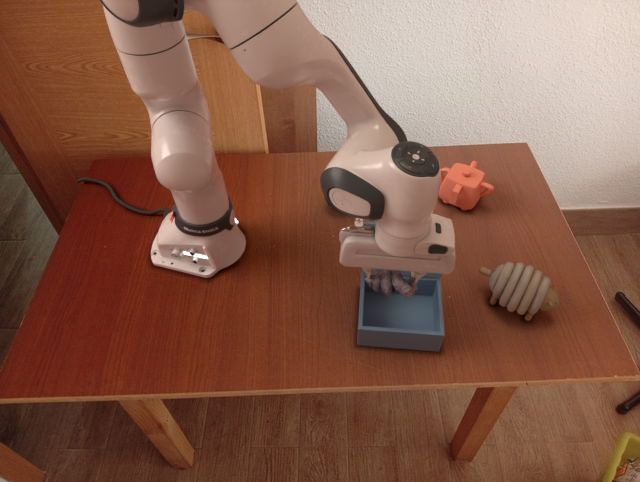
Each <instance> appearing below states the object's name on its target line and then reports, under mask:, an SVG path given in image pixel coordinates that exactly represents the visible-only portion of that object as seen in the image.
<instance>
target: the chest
mask: <svg viewBox="0 0 640 482" xmlns="http://www.w3.org/2000/svg"><path fill="white" fill-rule="evenodd" d="M402 276H403V278H404V280H405V281H406V282H408V281H409V276H407V275H402ZM366 277H367V274H366V273H362V272H361V273H360V285H359V303H358V305H359V306H358V307H359V308H358V321H357V339H356V340H357V341H356V345H357V346H361V347H362V346H363V347H374V348H375V347H376V348H388V349H400V350H411V351H412V350H414V351H425V352H436V353H437V352H440V350H441V346H442V344H443V341H444V338H445V335H446V334H445V333H446V332H445V321H444V320H445V319H444V307H443V290H442V277H441V278H437V277H421V278H419V279H418V283H416V285H417V292H416V293H415V294H414V295H413V296H411V297H409V298H406V297H404V296H403V295H402V294H401V293H399V292H398V291H396V289H395V293H394V294H393V295H391V296H386V295H384V294H383V293H382V292H376V291H374V289H373V287H372V288H371V287H370V286H369V284H368V283H367V282H366V281H365V278H366Z"/></svg>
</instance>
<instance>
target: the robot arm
mask: <svg viewBox="0 0 640 482" xmlns="http://www.w3.org/2000/svg"><path fill="white" fill-rule="evenodd" d="M99 1H100V3H101V5H102V8H103V12H104V16H105V20H106V23H107V27H108V30H109V33H110V36H111V39H112V42H113V44H114V47H115V50H116V52H117V54H118V58H119V60H120V62H121V65H122V67H123V70H124V72H125V73H124V74H125V75H126V78H127V80H128V84H129V85H130V88H131V90H132V92H133V93H134V94H136V95H137V96H138V97H140V99H141V101H142V102H143V104H144V106H145V108H146V110H147V113H148V116H149V122H150V135H151V137H150V140H151V141H150V158H151V162H152V163H151V164H152V166H153V170H154V173H155V177H156V179H157V181H158V182H159V184H160V185H162V186H163V187H164V188H166V189H167V190H169V191H170V193H171V195H172V198H173V201H174V203H173V205H172V206H171V209H170V208H158V209H155V210H143V209H140V208H137V207H134V206H131V205H130V204H128V203H126V202H124V201H123V200H121V199H120V198H119V197H118V195H117V194H116V192H115V190H114V188H113V187H112V186H111V185H110V184H108V183H107V182H105V181H103V180H100V179H98V178H93V177H80V178H78V179H77V180H76V183H77V184H79V183H81V182H92V183H96V184H99V185H102V186H104V187H106V188H107V189H108V190H109V192H110V193H111V195H112V198H113V199H114V200H115V201H116V202H117V203H118V204H120V205H121V206H122V207H124V208H126V209H128V210H129V211H132V212H134V213H138V214H142V215H149V216H150V215H151V216H153V215H156V214H159V213H163V217H162V222H161V223H160V226H159V229H158V232H157V233H156V235H155V237H154V239H153V241H152V244H151V248H150V258H151V259H150V260H151V262H152V265H154V266H156V267H160V268H164V269H168V270H172V271H175V272H180V273H184V274H188V275H191V276H196V277H200V278H204V279H210V278H212V277H213V276H215V275H216V274H217V273H218V272H219V271H221V270H223V269H225V268H228V267H229V266H231V265H233V264H234V263H236V262H238V260H239V259H240V258H242V255H243V254H244V252H245V251H246V248H247V247H246V246H247V240H246V236H245V234H244V233H243V231H242V230H241V229H240V227H239V225H238V224H239V220H237V218H236V214H235V210H234V206H233V203H232V200H231V198H230V196H229V195H228V191H227V186H226V183H225V179H224V176H223V172H222V171H221V169H220V167H219V164H218V160H217V157H216V152H215V145H214V137H213V129H212V121H211V111H210V108H209V105H208V102H207V99H206V95H205V93H204V90H203V87H202V85H201V82H200V80H199V77H198V74H197V70H196V66H195V63H194V58H193V55H192V51H191V47H190V44H189V40H188V35H187V31H186V29H185V25H184V22H183V18H184V14H185V10H191V11H195V12H198V13H199V14H202V15H203V16H204V17H205V18H206V19H207V20H208V21H209V23H210V24H211V25H212V26H213V28H214V29H215V30H216V32H217V34H218V35H219V38H220V39H221V41H222V42H223V44H224V46H225V47H226V48H227V50H228V51H229V53H230V54H231V56H232V58H233V59H234V61H235V62H236V64H237V65H238V67H239V68H240V69H241V70H242V72H243V74H245V76H247V78H248V79H249V80H250V81H252V82H253V83H254V84H256V85H258V86H259V87H263V88H265V89H270V90H274V91H275V90H277V91H284V90H291V89H294V88H297V87H301V86H308V85H309V86H312V87H314V88H316V89H318V90H319V91H320V92H321V93H322V94H323V96H325V98H326V99H327V101H328V102H329V103H330V105H331V106H332V107H333V108H334V110H335V111H336V112H337V114H338V115H339V116H340V118H341V119H342V121H343V122H344V123H345V125H346V129H347V134H346V139H345V141H344V142H343V143H342V145H341V146H340V147H339V149H338V151H337V152H336V153H335V154H334V156H333V157H332V158H331V159H330V160H329V162H328V164H327V165H326V166H325V168H324V170H323V171H322V172H321V174H320V178H319V183H320V188H321V189H320V190H321V192H322V194H323V196H324V199H325V198H326V199H327V201H328V202H329V203H330V205H331V206H332V207H333V208H335V209H334V210H336V211H337V212H339V213H341V214H343V215H345V216H347V217H352V218H355V219H356V218H357V219H358V218H360V219H363V220H369V221H375V222H376V224H375V227H367V226H365V225H363V226H362V227H360V226H355V224H354V225H348V226H347V227H343V228H341V229H340V230H339V231H338V241H339V242H340V248H339V249H340V250H339V264H341V265H342V266H343V267H349V268H361V270H362V269H363V271H364V272H365V273H366V274H367V279H375V271H376V269H386V270H399V271H410V275H409V279H410V280H409V282H412V283H418V279H419V278H421V277H423V276H424V275H426V273H438V274H442V275H448V274H451V273H452V272H454V270H455V267H456V263H457V262H456V261H457V256H456V233H455V228H454V223H453V219H450V218H449V217H445V216H442V215H439V214H437V213H433V212H434V211H435V209H436V207H437V203H438V199H439V190H440V183H441V169H442V168H441V164H440V160H439V158H438V157H437V155H436V154H435V152H434V151H433V150H432V149H431V148H430V147H428V146H426V145H425V144H423V143H420V142H417V141H413V140H408V137H407V135H406V133H405V131H404V129H403V128H402V127H401V126H400V125H399V124H398V122H397V121H396V120H394V119H393V117H391V116H390V115H389V114H388V113H387V112H386V111H385V110H384V109H383V108H382V107H381V105H380V104H379V103H378V101H377V100H376V99H375V96H374V95H373V94H372V93H371V91H370V89H369V87H367V85H366V84H365V82H364V81H363V79H362V78H361V76H360V75H359V73H358V72H357V70H356V69H355V68H354V67H353V65H352V64H351V62H350V61H349V59H348V58H347V56H346V55H345V54H344V53H343V51H342V50H341V48H339V46H338V45H337V44H336V43H335V42H334V41H333V40H332V39H331V38H330V37H328V36H326V35H325V34H323V33H321V32H320V31H319V30H318V29H317V28H316V27H315V25H314V24H313V23H312V22H311V21H310V19H309V18H308V16H307V15H306V13H305V12H304V10H303V9H302V7H301V5H300V4H299V2H298V0H99ZM332 207H331V208H332ZM333 208H332V209H333Z"/></svg>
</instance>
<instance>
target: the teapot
mask: <svg viewBox="0 0 640 482" xmlns="http://www.w3.org/2000/svg"><path fill="white" fill-rule="evenodd" d="M479 165H480V162H478V161H476V160H472V161H471V163H470V165H467V164H465V163H461V162H455V163H453V165H452V166H451V167H447V166H445V167H442V168H441V183H440V190H439V195H438V198H439V199H441V200H442V202H443V203H444V204H450V205H452V206H455V207H457V208H460V210H461V211H468V210H472V209H473V208H475V206H476V205H477V203H478V202H479V200H480V199H481V197H485V196H487V195H490V194H492V193H493V192H494V190H495V187H494V185H492V184H490V183H488V182H486V173H485V172H484V171H482V170H480V169H478V168H479ZM444 172H446V175H445V176H444ZM485 188H486V189H485Z"/></svg>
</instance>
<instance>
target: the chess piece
mask: <svg viewBox="0 0 640 482" xmlns="http://www.w3.org/2000/svg"><path fill="white" fill-rule="evenodd" d="M354 226H360V227H362V226H363V227H364V219H363V218H356V217H355V219H354Z"/></svg>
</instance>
